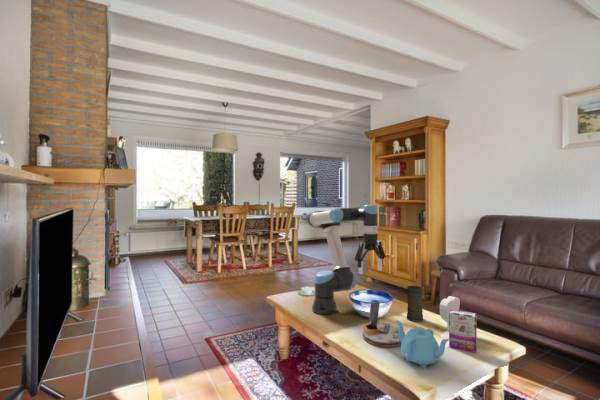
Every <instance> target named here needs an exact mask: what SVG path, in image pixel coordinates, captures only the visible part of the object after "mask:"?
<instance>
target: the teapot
mask: <svg viewBox="0 0 600 400" xmlns="http://www.w3.org/2000/svg"><path fill="white" fill-rule="evenodd" d="M395 322H396V323H397V325H398V326H397V327H399V340H400V342H401V346H400V351H401V353H402V356H404V358H405V359H404V360H405V362H410V363H415V364H418V365H419V367H420V368H421V369H427V368H428V366H427V365H432V364H435V363H436V362H437V361H439V360H440V358H441V357H442V356H443V355H444V354H445V349H446V344H447V342H449V340H450V339H449V338H442V339H441V341H440V343H438V341H437V339H436V337H435V336H434V330H432V329H431V328H426V329H425V328H424V327H422V326H417V327H416V328H415V327H414V328H411V329H409V330H408V331H407V332H406V333H405V330H404V326H403V324H402V323H401V321H400V320H397V319H396V320H395ZM439 344H440V345H439Z"/></svg>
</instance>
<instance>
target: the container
mask: <svg viewBox="0 0 600 400" xmlns="http://www.w3.org/2000/svg"><path fill="white" fill-rule="evenodd" d="M406 289H407V308H406V309H407V312H406V319H407V320H408V321H410V322H414V323H420V322H423V321H424V315H423V290H424V289H423V287H421V286H418V285H408V286H407V288H406Z"/></svg>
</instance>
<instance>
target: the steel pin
mask: <svg viewBox="0 0 600 400" xmlns="http://www.w3.org/2000/svg"><path fill="white" fill-rule="evenodd" d="M380 305H381V304H380V302H379V301H378V300H376V299H375V300H374V299H373V300H371V301H370V308H369V318H368V319H369V320H368V324H369V326H368V329H377V324H378V322H379V321H378V320H379V310H380Z"/></svg>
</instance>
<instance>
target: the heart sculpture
mask: <svg viewBox="0 0 600 400" xmlns="http://www.w3.org/2000/svg"><path fill="white" fill-rule="evenodd" d="M460 300H461V299H460V297H456V296H451V295H449V296H447V298H443V299H442V300H441V301H440V303H439V315H440V317H441V319H442V321H444V322H446V323H447V325H446V327H447V329H446V330H445V331H444V332H442V333H440V334H439V336H440V337H442V338H443V339H449V312H450V310H456V311H460V305H461V301H460Z"/></svg>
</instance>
